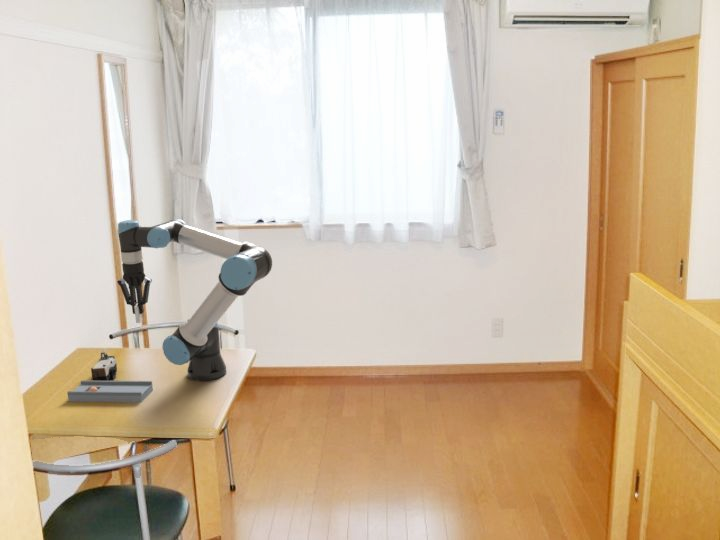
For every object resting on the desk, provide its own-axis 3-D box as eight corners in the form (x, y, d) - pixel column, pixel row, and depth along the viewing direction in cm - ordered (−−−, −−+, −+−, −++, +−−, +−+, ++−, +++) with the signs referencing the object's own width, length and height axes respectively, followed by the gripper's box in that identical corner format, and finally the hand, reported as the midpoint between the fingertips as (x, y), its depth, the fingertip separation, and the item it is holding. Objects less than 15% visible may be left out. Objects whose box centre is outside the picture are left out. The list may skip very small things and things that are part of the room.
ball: (92, 383, 282) (89, 391, 283) (88, 387, 279) (85, 395, 280) (101, 387, 282) (98, 395, 283) (97, 391, 279) (94, 399, 280)
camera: (110, 385, 292) (107, 360, 289) (91, 385, 292) (88, 361, 289) (122, 370, 306) (119, 347, 304) (103, 371, 306) (100, 348, 304)
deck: (152, 390, 285) (151, 380, 284) (141, 402, 274) (140, 392, 273) (82, 389, 288) (81, 380, 287) (68, 401, 277) (67, 392, 276)
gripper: (152, 259, 285) (159, 318, 290) (119, 259, 286) (127, 318, 292) (145, 263, 277) (152, 324, 283) (111, 264, 279) (118, 324, 285)
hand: (139, 321), depth 287 cm, fingers closed
